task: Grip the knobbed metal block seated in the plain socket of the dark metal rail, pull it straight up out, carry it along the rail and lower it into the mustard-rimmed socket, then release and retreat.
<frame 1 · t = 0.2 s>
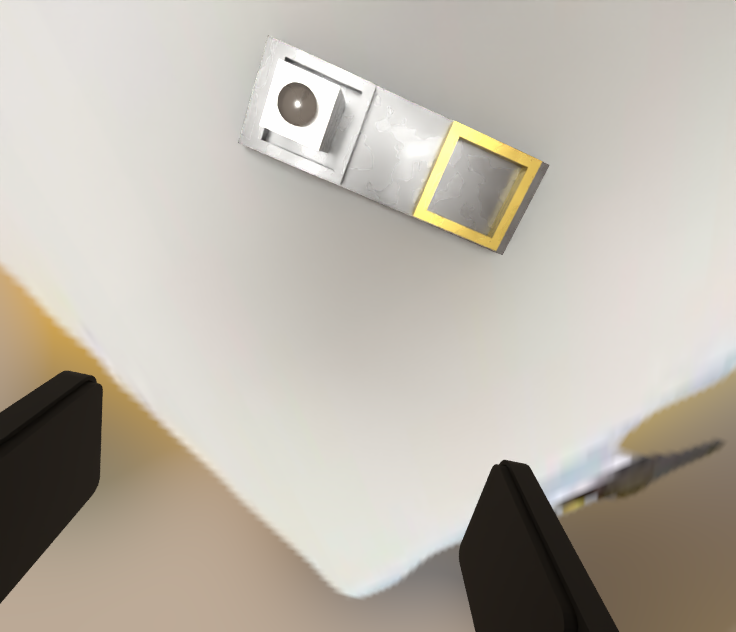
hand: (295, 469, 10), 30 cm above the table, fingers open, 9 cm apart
knobbed metal block: (313, 118, 33), point 2 cm above the table, touching rail
rail: (393, 154, 36), on the table
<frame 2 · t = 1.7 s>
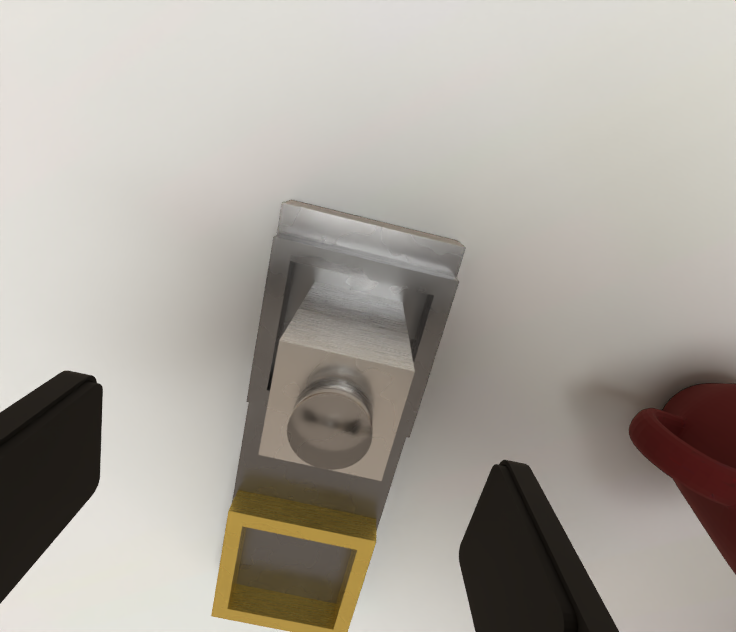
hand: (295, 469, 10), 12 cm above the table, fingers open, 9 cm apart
knobbed metal block: (349, 332, 19), point 2 cm above the table, touching rail
mug: (672, 409, 23), on the table
rail: (324, 433, 23), on the table
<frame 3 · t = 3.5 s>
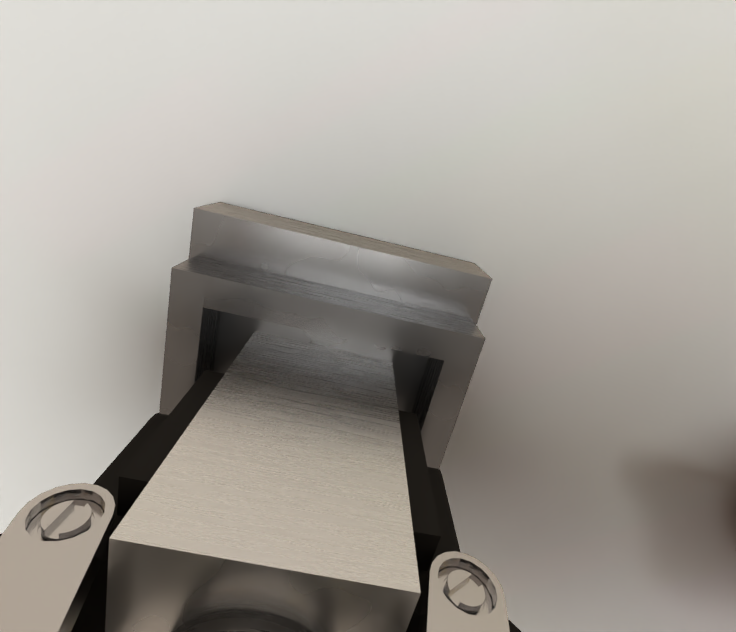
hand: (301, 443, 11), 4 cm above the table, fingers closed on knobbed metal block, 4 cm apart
knobbed metal block: (311, 406, 13), point 2 cm above the table, touching gripper, rail
rail: (284, 528, 17), on the table
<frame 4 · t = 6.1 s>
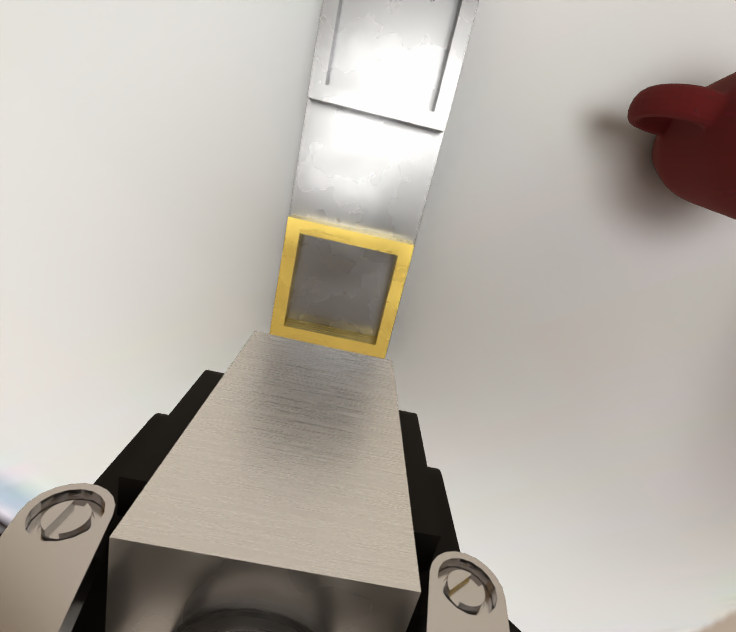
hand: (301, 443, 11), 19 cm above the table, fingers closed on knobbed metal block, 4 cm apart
knobbed metal block: (311, 405, 13), point 17 cm above the table, touching gripper
mug: (662, 143, 26), on the table
rail: (364, 174, 27), on the table
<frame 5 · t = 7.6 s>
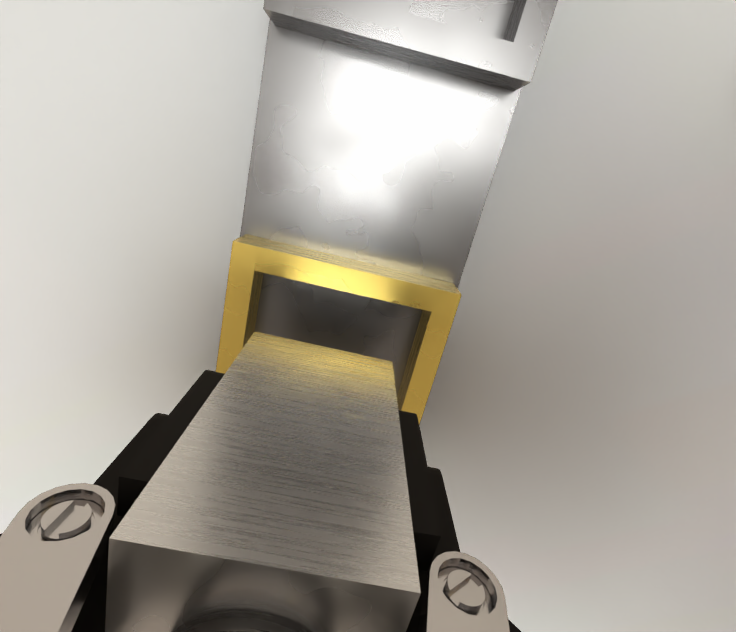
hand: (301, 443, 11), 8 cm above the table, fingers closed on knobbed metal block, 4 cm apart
knobbed metal block: (311, 406, 13), point 6 cm above the table, touching gripper
rail: (372, 167, 16), on the table
when the fingers open (4 cm above the table, at t = 8.9 s): knobbed metal block stays where it is, resting on rail.
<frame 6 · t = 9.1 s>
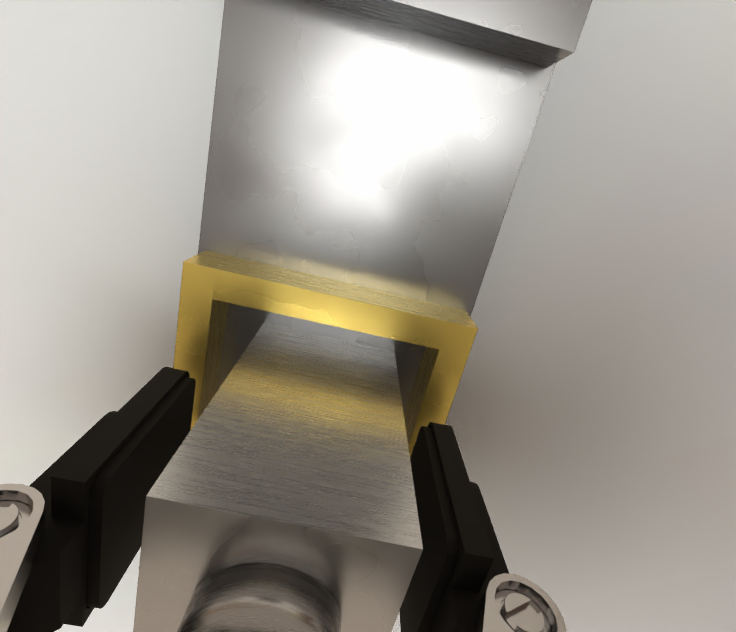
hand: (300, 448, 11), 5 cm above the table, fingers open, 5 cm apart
knobbed metal block: (316, 394, 13), point 2 cm above the table, touching rail
rail: (364, 166, 13), on the table
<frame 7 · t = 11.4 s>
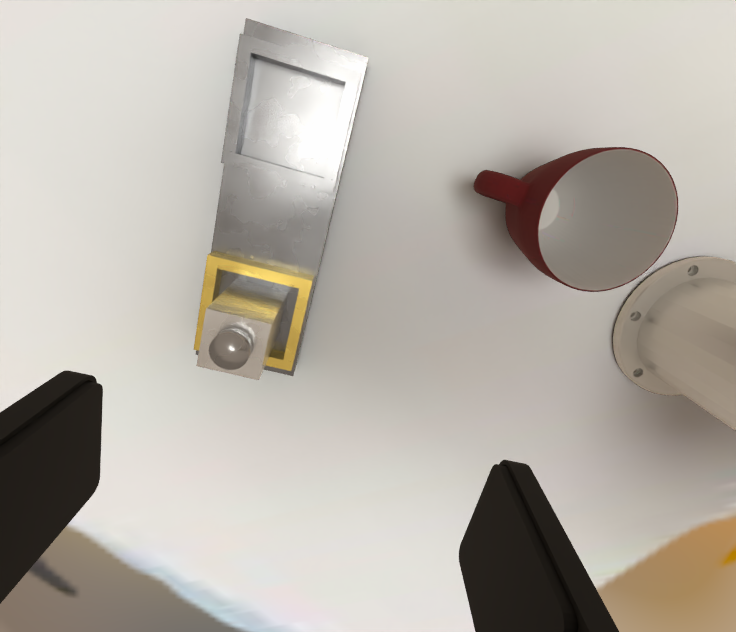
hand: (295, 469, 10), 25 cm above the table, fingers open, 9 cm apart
knobbed metal block: (257, 309, 33), point 2 cm above the table, touching rail
mug: (518, 203, 33), on the table
rail: (277, 218, 33), on the table
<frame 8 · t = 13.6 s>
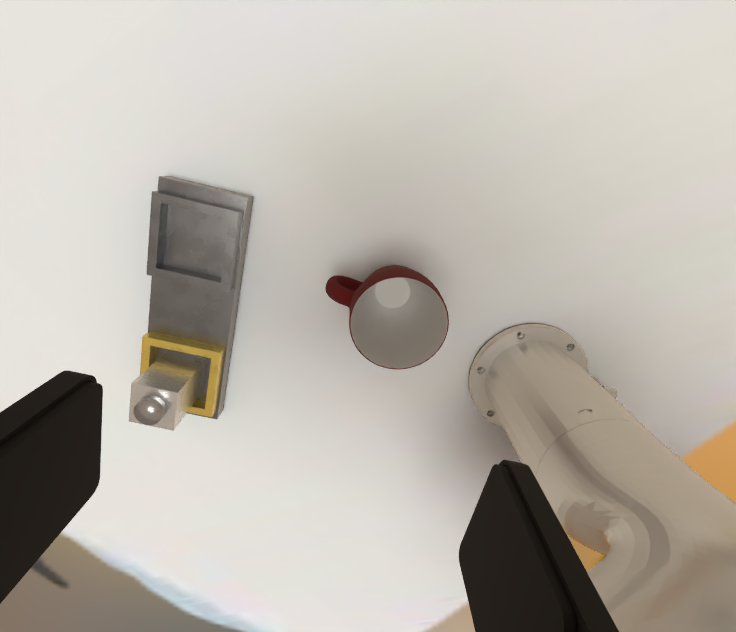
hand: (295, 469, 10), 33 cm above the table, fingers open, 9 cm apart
knobbed metal block: (185, 371, 44), point 2 cm above the table, touching rail
mug: (380, 287, 43), on the table
rail: (198, 303, 43), on the table
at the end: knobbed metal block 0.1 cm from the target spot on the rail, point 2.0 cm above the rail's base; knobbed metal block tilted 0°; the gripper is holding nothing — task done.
